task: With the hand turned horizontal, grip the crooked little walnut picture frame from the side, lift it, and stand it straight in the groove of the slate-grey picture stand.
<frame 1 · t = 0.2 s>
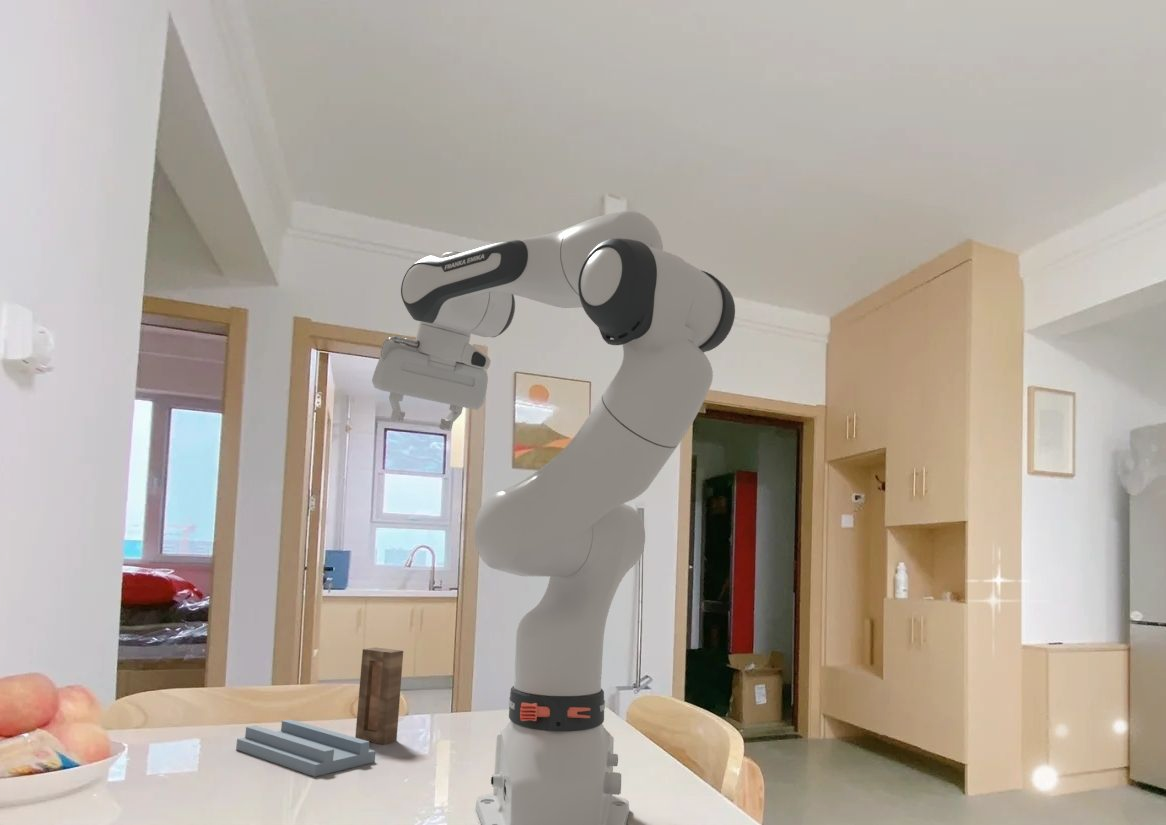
hand: (421, 425, 129), 51 cm above the table, fingers open, 8 cm apart
frame: (375, 740, 121), on the table
picture stand: (304, 755, 111), on the table
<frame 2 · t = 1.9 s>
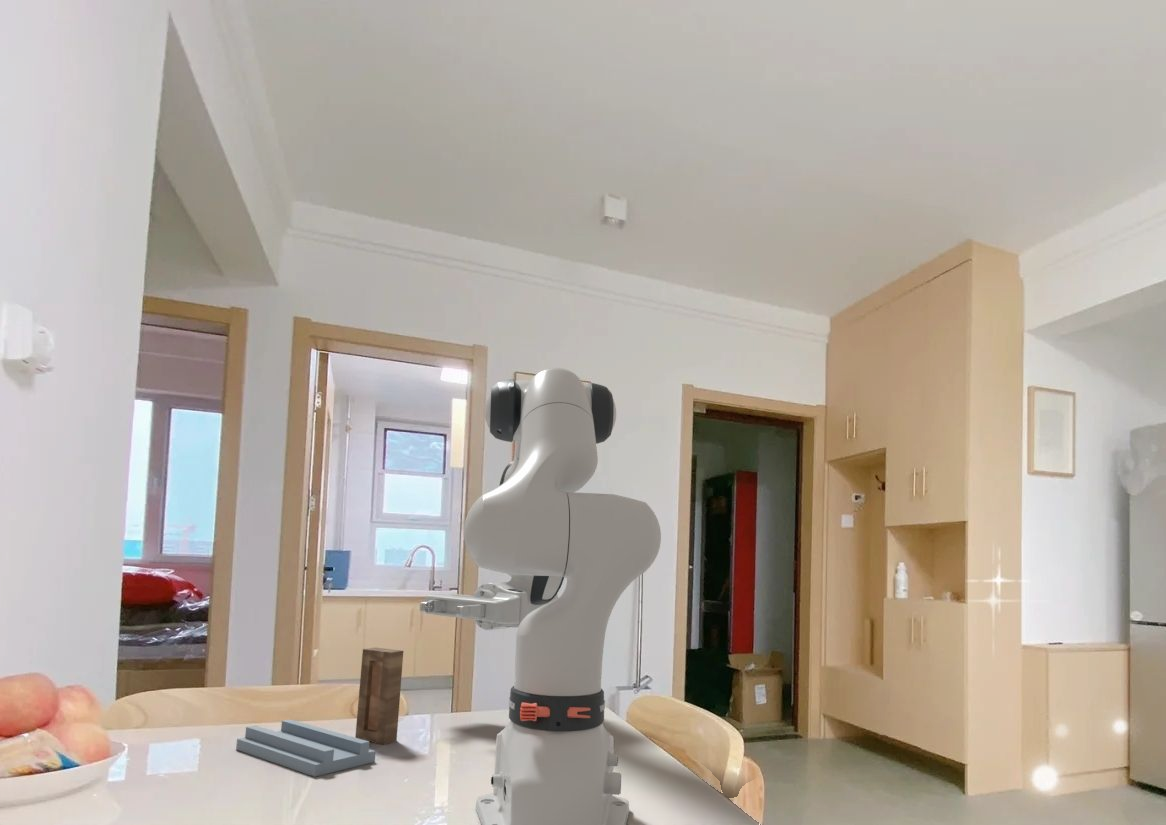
hand: (440, 609, 135), 20 cm above the table, fingers open, 8 cm apart
nothing on the table moved.
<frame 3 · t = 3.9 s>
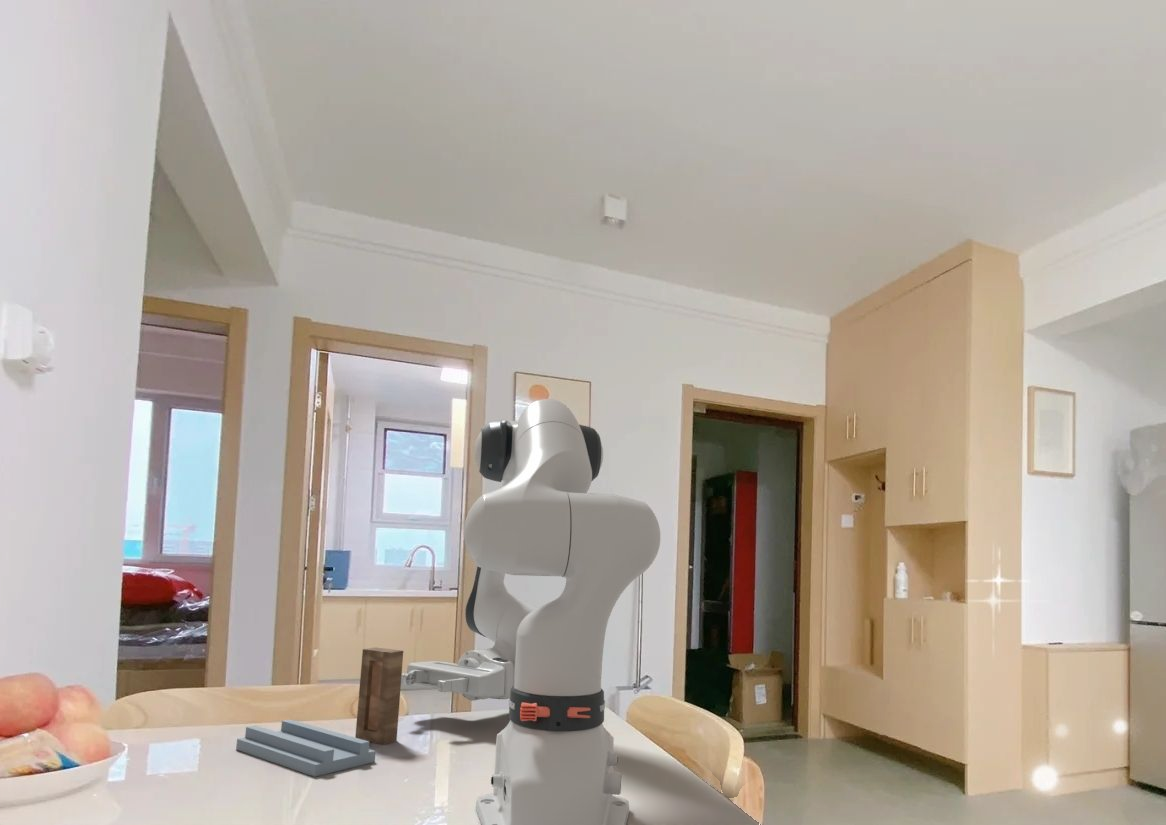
hand: (421, 682, 130), 8 cm above the table, fingers open, 8 cm apart
nothing on the table moved.
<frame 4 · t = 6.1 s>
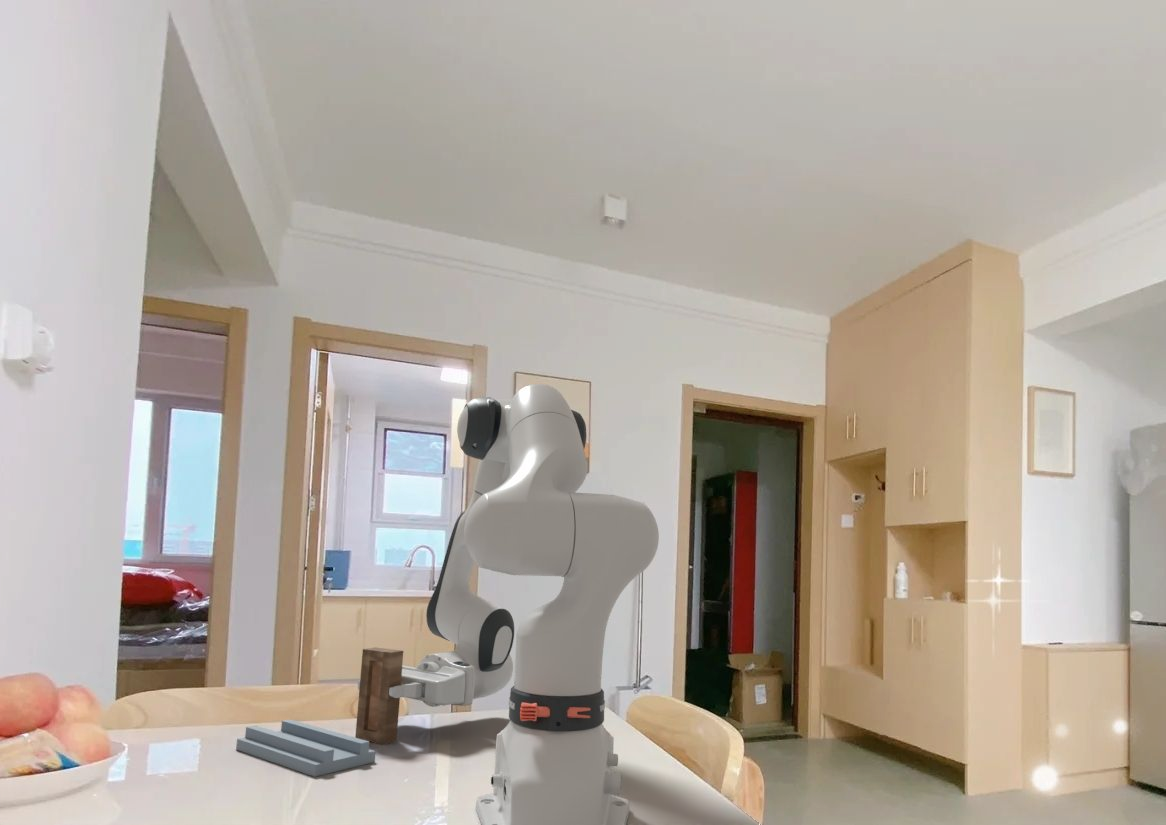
hand: (375, 688, 122), 8 cm above the table, fingers closed on frame, 6 cm apart
frame: (375, 739, 121), on the table, touching gripper
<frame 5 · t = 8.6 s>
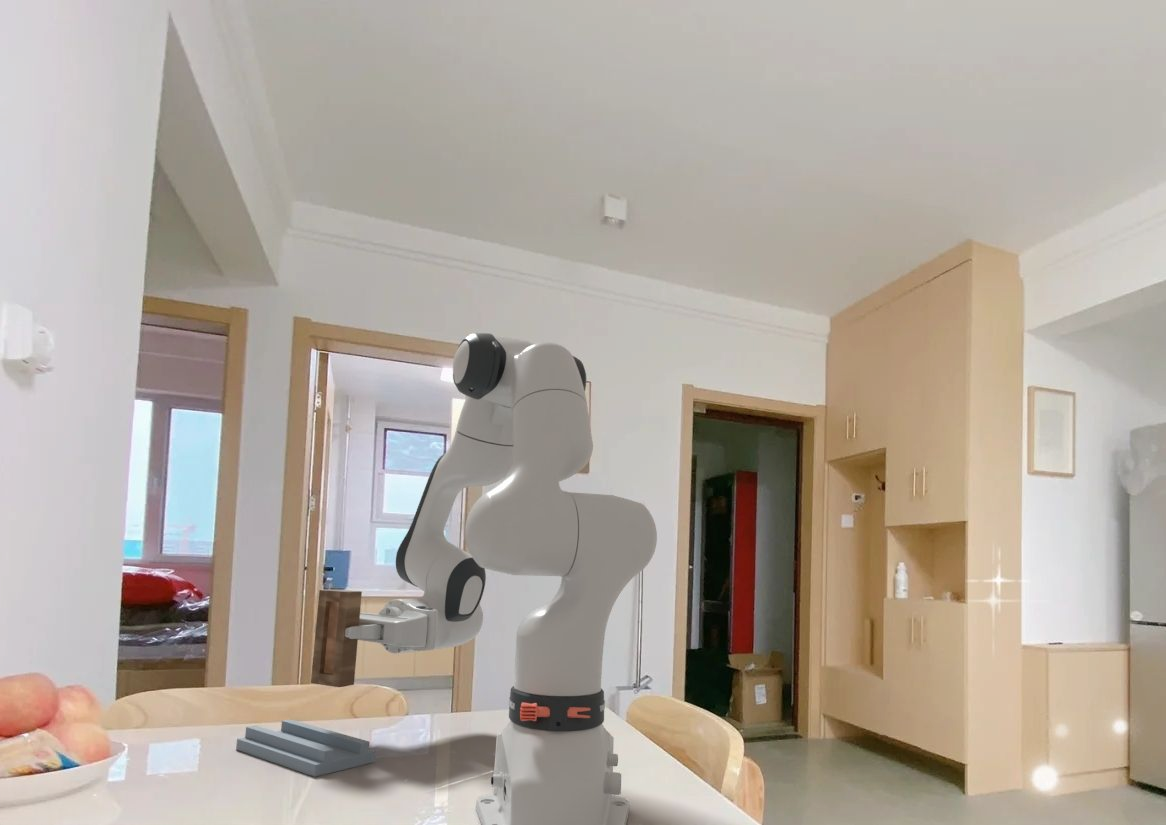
hand: (332, 630, 116), 18 cm above the table, fingers closed on frame, 6 cm apart
frame: (332, 683, 116), point 10 cm above the table, touching gripper
when the fingers open (11 cm above the table, at t = 11.0 s): frame drops 2 cm, resting on picture stand.
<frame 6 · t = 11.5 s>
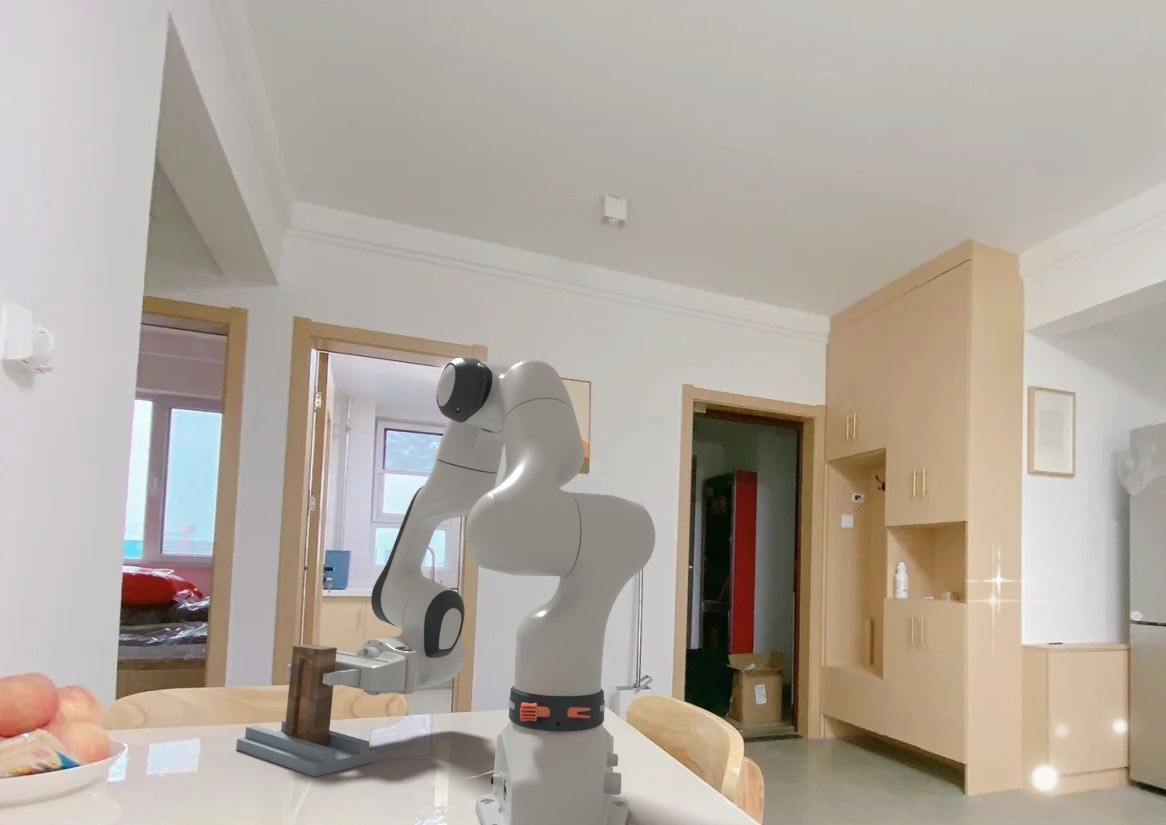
hand: (306, 675, 112), 11 cm above the table, fingers open, 8 cm apart
frame: (305, 744, 111), point 1 cm above the table, touching picture stand
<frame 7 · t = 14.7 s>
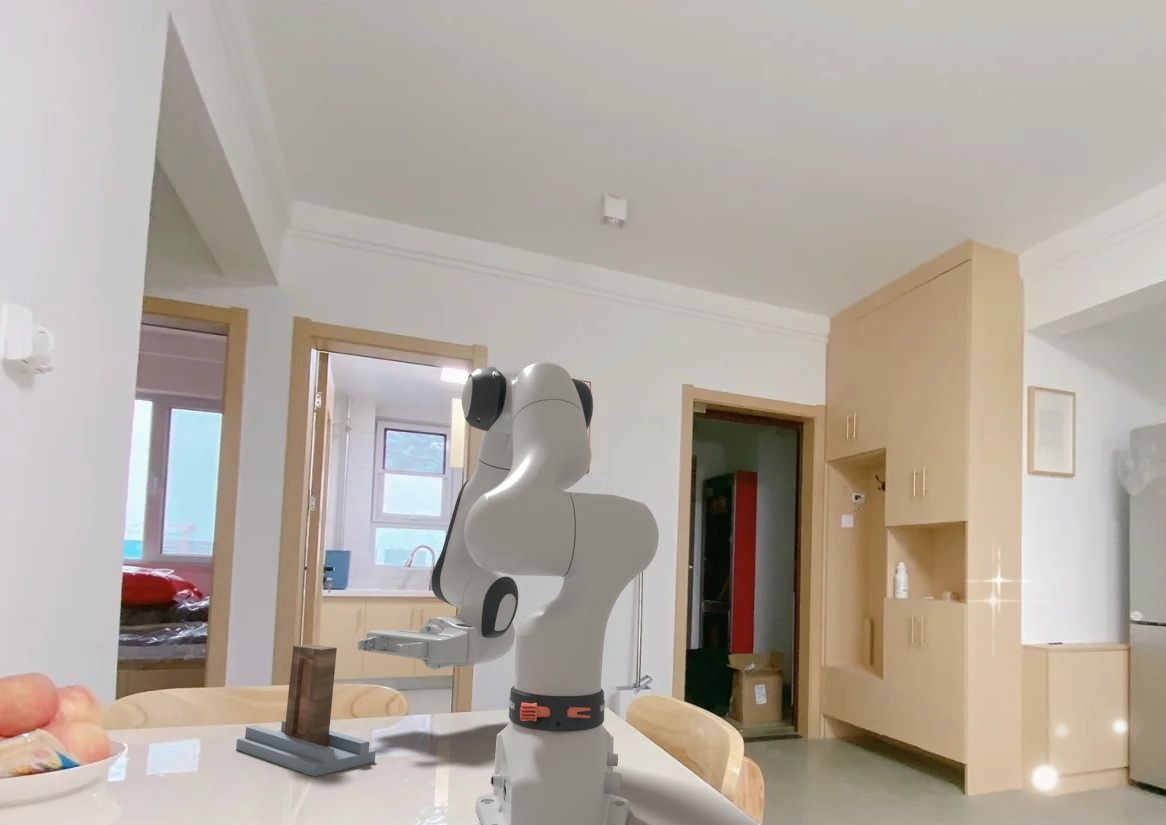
hand: (378, 647, 123), 14 cm above the table, fingers open, 8 cm apart
nothing on the table moved.
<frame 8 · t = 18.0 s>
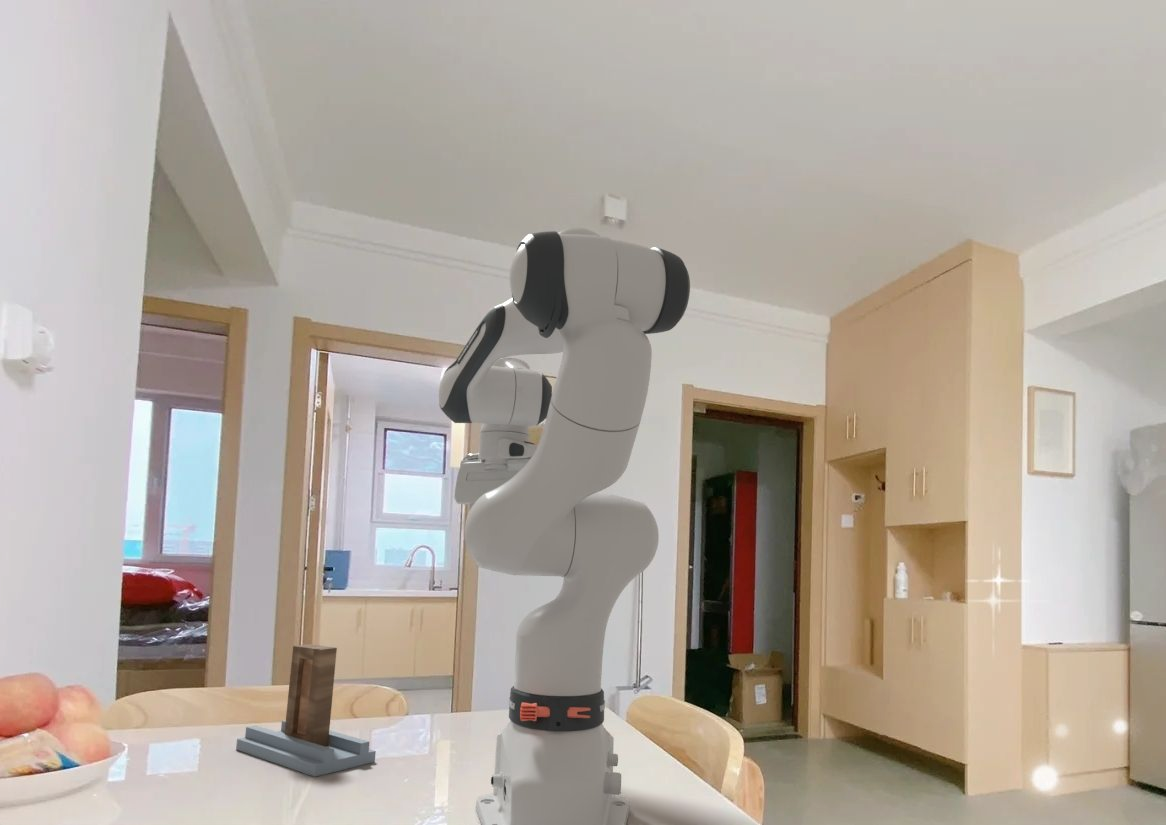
hand: (499, 531, 129), 34 cm above the table, fingers open, 8 cm apart
nothing on the table moved.
at the end: frame 0.1 cm from the picture stand (horizontally); frame point 1.5 cm above the table; frame tilted 0° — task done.
